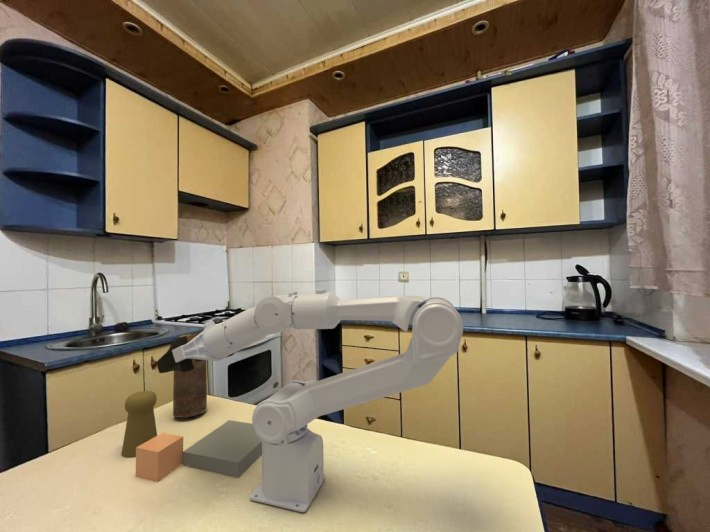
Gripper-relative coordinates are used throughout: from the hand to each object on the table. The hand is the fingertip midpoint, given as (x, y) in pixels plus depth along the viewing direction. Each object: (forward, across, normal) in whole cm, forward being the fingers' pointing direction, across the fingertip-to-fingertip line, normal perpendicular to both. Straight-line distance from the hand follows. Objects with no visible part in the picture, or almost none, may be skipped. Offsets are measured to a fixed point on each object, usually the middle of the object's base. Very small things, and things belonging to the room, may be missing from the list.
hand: (178, 361), depth 53 cm
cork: (+19, -3, +12) cm, 23 cm away
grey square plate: (+2, -7, +20) cm, 22 cm away
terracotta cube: (+10, +1, +16) cm, 19 cm away
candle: (+21, -17, +11) cm, 29 cm away
